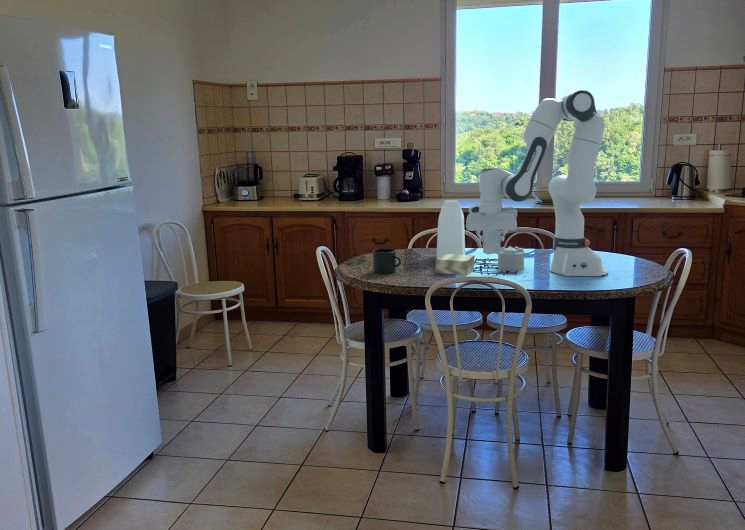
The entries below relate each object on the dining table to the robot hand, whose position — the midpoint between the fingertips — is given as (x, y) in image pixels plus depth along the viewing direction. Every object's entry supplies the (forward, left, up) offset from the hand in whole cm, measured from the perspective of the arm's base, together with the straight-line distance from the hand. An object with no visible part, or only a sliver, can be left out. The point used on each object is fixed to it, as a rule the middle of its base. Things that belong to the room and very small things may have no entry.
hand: (491, 241), depth 266 cm
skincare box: (0, 0, -5) cm, 5 cm away
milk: (+22, -29, -13) cm, 39 cm away
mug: (+42, +9, -13) cm, 45 cm away
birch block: (+15, 0, -13) cm, 20 cm away
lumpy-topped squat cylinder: (-7, -11, -13) cm, 19 cm away
